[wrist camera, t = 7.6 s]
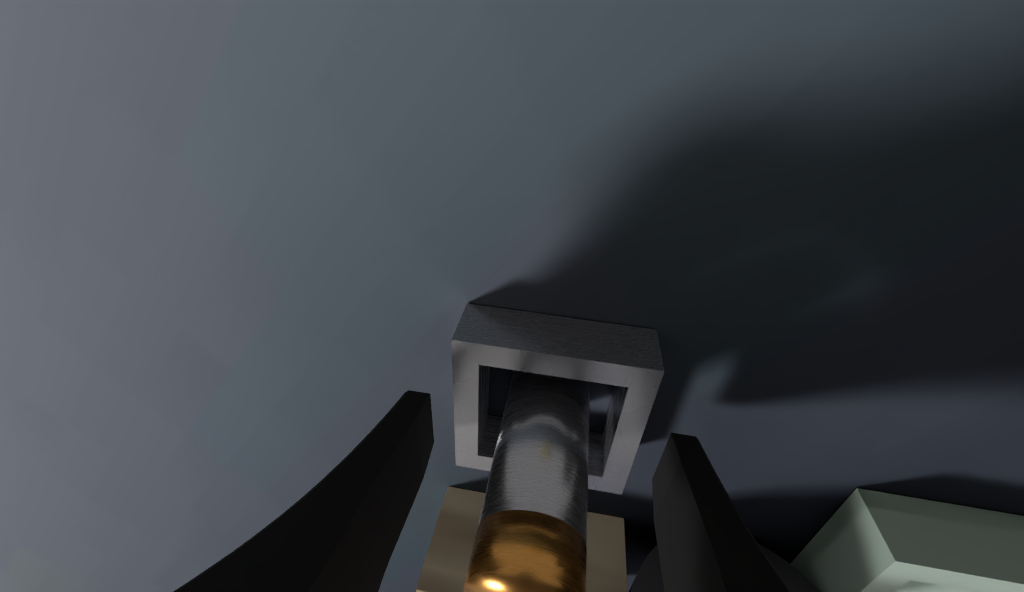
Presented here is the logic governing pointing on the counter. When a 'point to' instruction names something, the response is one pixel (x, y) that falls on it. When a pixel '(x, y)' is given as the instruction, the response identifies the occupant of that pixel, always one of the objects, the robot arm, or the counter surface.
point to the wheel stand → (649, 577)
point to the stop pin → (536, 491)
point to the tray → (914, 547)
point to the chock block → (457, 537)
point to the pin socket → (561, 353)
